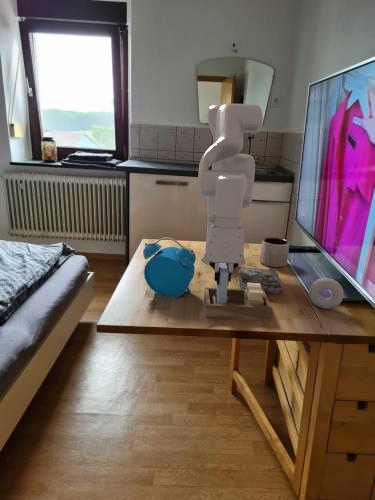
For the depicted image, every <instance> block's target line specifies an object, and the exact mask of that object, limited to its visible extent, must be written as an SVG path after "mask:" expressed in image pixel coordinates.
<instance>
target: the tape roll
mask: <svg viewBox="0 0 375 500" xmlns="http://www.w3.org/2000/svg"><path fill="white" fill-rule="evenodd" d="M322 290H329V291H330V292H331V295H330V296H329V297H324V296H322V295H321V292H322ZM344 293H345V292H344V289H343V287H342V285H341V284H340V283H339V282H338V281H336V280H335V279H332V278H330V277H321V278H318V279H316V280H315V281H313V283H312V284H311V285H310V287H309V289H308V296H309V298H310V299H309V300H310V301H311V302H312V303H313V305H315V306H316V307H318V308H320V309H323V310H325V309H327V310H330V309H333V308H335V307H338V306H339V305H340V304H341V302H343V299H344Z"/></svg>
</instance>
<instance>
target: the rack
mask: <svg viewBox="0 0 375 500" xmlns="http://www.w3.org/2000/svg"><path fill="white" fill-rule="evenodd" d="M245 290H247V289H241V288H231V287H230V288H229V287H227V298H226V304H217V302H216V291H217V287H204V295H203V296H204V297H203V300H204V301H203V303H204V310H205V311H204V312H205V319H210V320H211V319H212V320H213V319H215V320H236V321H237V320H240V321H242V320H243V321H263V322H265V321H267V322H269V321H271V317H272V311H273V310H272V309H273V307H272V305H271V303H270V301H269V299H268V297H267V295H266V294H267V293H265V292H264V290H262V292H263V297H262V298H263V300H264V306H256V305H244V291H245Z"/></svg>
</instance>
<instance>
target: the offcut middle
mask: <svg viewBox="0 0 375 500" xmlns="http://www.w3.org/2000/svg"><path fill="white" fill-rule="evenodd" d="M244 298H245V300H246V303H247V305H256V306H264V300H263V298H262V301H257V300H248V295H247V290H245V291H244Z"/></svg>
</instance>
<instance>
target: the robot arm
mask: <svg viewBox="0 0 375 500" xmlns="http://www.w3.org/2000/svg"><path fill="white" fill-rule="evenodd" d="M207 121H208V126H209V130H210V132H211V137H212V139H213V144H212V145H210V146H209V147H208V148H207V149H206V151H205V152H204V154H203V155H202V157H201V158H200V161H199V165H198V177H197V190H198V192H199V194H200V195H201V196H203V197H206V201H207V202H206V203H207V204H206V205H207V217H206V218H207V219H206V221H207V222H206V233H205V234H206V235H205V238H206V239H205V253H203V254H202V255H201V256H200V260H201V261H202V263H203V264H206V265H208V266H210V267H211V268H212V269H213V270H214V277H213V278H214V282H216V286H217V285H219V282H220V268H219V263H226V266H227V269H228V273H229V275H228V284H229V282H230V283H231V280H232V273H233V271H235V270H236V269H237V268H238V267H240V266H243V265H246V263H247V262H246V259H245V256H244V253H245V252H244V251H245V231H244V227H243V226H242V215H243V209H247V208H250V206H251V204H252V202H253V194H254V182H255V173H256V161H255V158H254V157H253V156H252V155H251V154H247V153H241V152H242V150H243V148H244V133H248V134H257V133H259V132H260V131H261V130H262V127H263V123H264V116H263V110H262V108H261V106H260V105H258V104H251V103H249V104H248V103H219V104H218V103H217V104H213V105H211V106H209V108H208V111H207ZM210 167H211V170H210V169H209V168H210Z"/></svg>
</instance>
